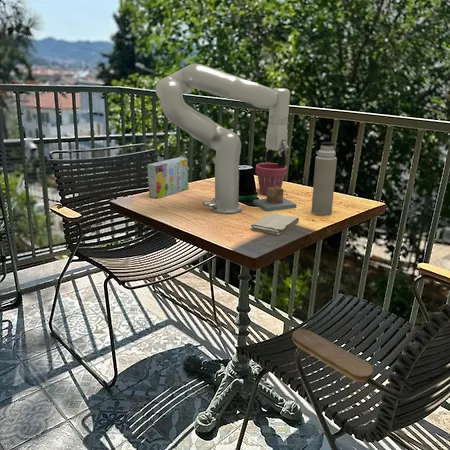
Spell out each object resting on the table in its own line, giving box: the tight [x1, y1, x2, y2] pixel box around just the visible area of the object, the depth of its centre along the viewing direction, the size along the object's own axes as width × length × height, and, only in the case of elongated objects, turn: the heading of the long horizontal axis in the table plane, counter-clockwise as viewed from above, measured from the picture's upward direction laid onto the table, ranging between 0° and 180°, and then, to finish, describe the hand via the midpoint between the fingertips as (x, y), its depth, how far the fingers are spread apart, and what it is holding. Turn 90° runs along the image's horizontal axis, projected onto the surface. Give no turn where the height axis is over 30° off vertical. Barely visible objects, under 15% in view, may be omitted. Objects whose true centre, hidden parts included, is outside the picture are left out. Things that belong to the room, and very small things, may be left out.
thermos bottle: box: [310, 141, 338, 217], centre depth 169 cm, size 8×8×28 cm
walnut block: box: [266, 186, 284, 204], centre depth 180 cm, size 5×5×6 cm
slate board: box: [252, 197, 297, 212], centre depth 182 cm, size 14×12×2 cm
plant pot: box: [255, 162, 288, 196], centre depth 199 cm, size 14×14×13 cm
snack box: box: [146, 156, 190, 200], centre depth 197 cm, size 21×6×15 cm, turn 144°
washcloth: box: [250, 213, 300, 236], centre depth 157 cm, size 12×18×3 cm, turn 149°
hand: (275, 164), depth 176 cm, fingers open, 9 cm apart
